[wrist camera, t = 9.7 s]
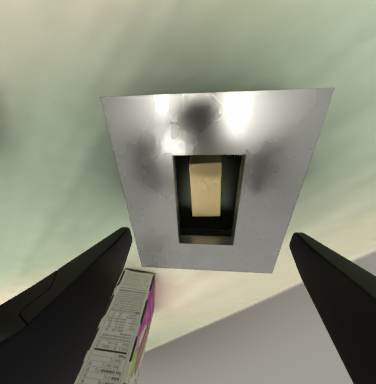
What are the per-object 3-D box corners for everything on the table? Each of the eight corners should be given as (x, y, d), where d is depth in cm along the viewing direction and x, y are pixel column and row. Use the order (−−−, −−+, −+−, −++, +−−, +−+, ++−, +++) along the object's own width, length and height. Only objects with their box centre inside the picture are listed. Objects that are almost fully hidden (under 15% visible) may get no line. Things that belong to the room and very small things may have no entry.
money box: (155, 231, 20) (141, 266, 15) (134, 100, 13) (100, 97, 9) (255, 234, 19) (272, 273, 14) (286, 94, 12) (334, 87, 8)
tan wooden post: (193, 199, 17) (192, 216, 15) (191, 154, 15) (189, 164, 12) (217, 199, 17) (220, 215, 14) (218, 152, 15) (221, 162, 12)
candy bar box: (155, 311, 29) (108, 518, 14) (128, 307, 29) (53, 509, 14) (157, 271, 23) (86, 536, 9) (123, 266, 23) (-2, 522, 9)
